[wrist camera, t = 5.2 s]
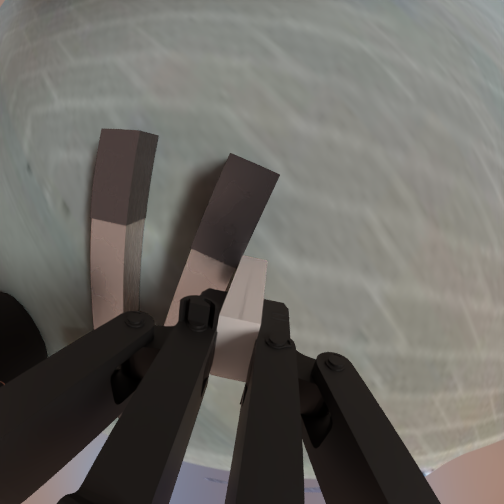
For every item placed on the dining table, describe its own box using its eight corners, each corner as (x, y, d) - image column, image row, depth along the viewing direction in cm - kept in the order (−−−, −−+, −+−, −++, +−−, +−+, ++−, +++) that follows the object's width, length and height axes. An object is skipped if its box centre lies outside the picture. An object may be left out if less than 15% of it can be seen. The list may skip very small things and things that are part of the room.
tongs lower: (163, 411, 21) (153, 434, 18) (118, 395, 21) (105, 415, 18) (191, 139, 14) (174, 133, 12) (123, 132, 14) (97, 127, 12)
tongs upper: (180, 390, 20) (171, 411, 17) (151, 377, 19) (140, 397, 17) (278, 174, 15) (280, 174, 12) (236, 156, 15) (230, 152, 12)
